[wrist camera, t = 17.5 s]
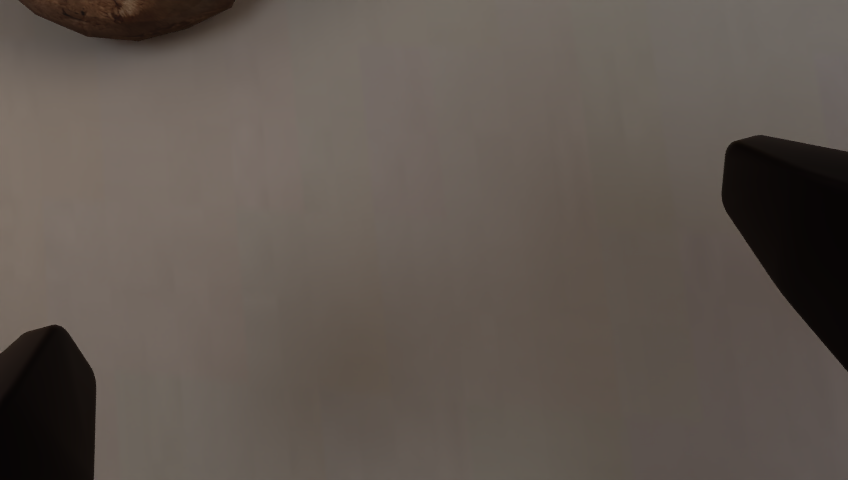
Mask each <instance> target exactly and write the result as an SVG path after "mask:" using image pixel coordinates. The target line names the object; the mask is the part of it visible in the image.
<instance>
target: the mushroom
mask: <svg viewBox="0 0 848 480" xmlns="http://www.w3.org/2000/svg"><path fill="white" fill-rule="evenodd" d="M19 1H20V2H21V3H22V4H23V5H25V6H26V7H27V8H28V9H30V10H31V11H32V12H33V13H34V14H36V15H38V16H40V17H43V18H45V19H47V20H50V21H52V22H54V23H57V24H59V25H61V26H64V27H66V28H68V29H71V30H73V31H76V32H78V33H80V34H83V35H85V36H87V37H98V38H109V39H121V40H132V41H140V40H144V39H148V38H152V37H156V36H160V35H164V34H168V33H172V32H175V31H179V30H183V29H186V28H189V27H191V26H193V25H195V24H198V23H200V22H202V21H204V20H206V19H208V18H210V17H212V16H214V15H216V14H218V13H220V12H222V11H225V10H227V9H229V8H231V7H232V5H233V3H234V2H235V0H19Z"/></svg>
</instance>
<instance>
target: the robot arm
mask: <svg viewBox="0 0 848 480" xmlns="http://www.w3.org/2000/svg"><path fill="white" fill-rule="evenodd" d="M722 202H723V205H724V208H725V210H726V212H727V214H728V215H729V217H730V218H731V220H732V221H733V223H734V224H735V226H736V227H737V229H738V230H739V231H740V233H741V234H742V236H743V237H744V239H745V240H746V242H747V243H748V245H749V246H750V248H751V249H752V251H753V252H754V254H755V255H756V257H757V258H758V260H759V261H760V263H761V264H762V266H763V267H764V269H765V270H766V272H767V273H768V275H769V276H770V278H771V279H772V281H773V282H774V283H775V285H776V286H777V287H778V289H779V290H780V292H781V293H782V294H783V296H784V297H785V298H786V299H787V301H788V302H789V303H790V304H791V306H792V307H793V308H794V309H795V310H796V312H797V313H798V314H799V315H800V316H801V317H802V319H803V320H804V321H805V322H806V323H807V324H808V326H809V327H810V328H811V329H812V330H813V331H814V333H815V334H816V335H817V336H818V337H819V339H820V340H821V341H822V342H823V343H824V344H825V346H826V347H827V348H828V349H829V350H830V351H831V353H832V354H833V355H834V356H835V357H836V359H837V360H838V361H839V362H840V363H841V364H842V366H843V367H844V368H845V369H846V370H847V371H848V152H846V151H841V150H836V149H831V148H826V147H821V146H815V145H810V144H805V143H800V142H795V141H790V140H784V139H779V138H774V137H769V136H764V135H757V136H752V137H749V138H745V139H741V140H738V141H734V142H732V143H731V144H730V145H729V146H728V148H727V150H726V154H725V162H724V173H723V184H722ZM95 415H96V380H95V376H94V373H93V370H92V368H91V367H90V365H89V364H88V362H87V360H86V359H85V357H84V356H83V354H82V353H81V351H80V350H79V348H78V347H77V345H76V344H75V342H74V341H73V339H72V338H71V336H70V335H69V333H68V332H67V331H66V330H65V329H64V328H63V327H62V326H58V325H51V326H47V327H43V328H39V329H36V330H32V331H28V332H26V333H24V334H22V335H21V336H20V337H19V338H18V339H17V340H15V341H14V342H13V343H12V344H11V345H10V346H9V347H8V348H7V349H5V350H4V351H3V352H2V353H1V354H0V480H94V454H95Z"/></svg>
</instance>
